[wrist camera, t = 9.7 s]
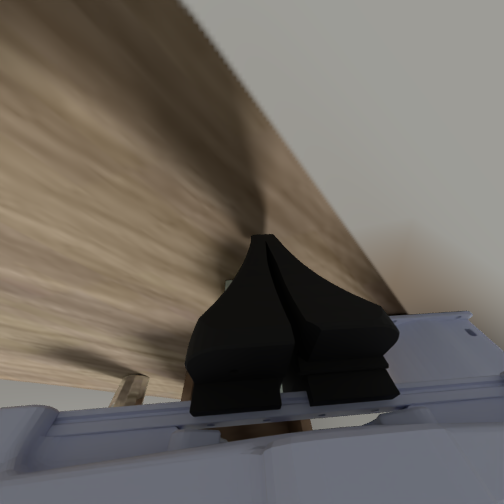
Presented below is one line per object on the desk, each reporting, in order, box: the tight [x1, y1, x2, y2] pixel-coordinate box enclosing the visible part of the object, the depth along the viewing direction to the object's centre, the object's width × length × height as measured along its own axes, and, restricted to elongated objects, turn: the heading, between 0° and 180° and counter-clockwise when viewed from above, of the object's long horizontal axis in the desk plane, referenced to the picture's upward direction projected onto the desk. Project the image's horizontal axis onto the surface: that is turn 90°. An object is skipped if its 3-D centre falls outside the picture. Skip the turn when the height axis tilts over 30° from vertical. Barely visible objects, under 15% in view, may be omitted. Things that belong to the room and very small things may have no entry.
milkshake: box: [109, 374, 149, 407], centre depth 20 cm, size 4×5×10 cm
